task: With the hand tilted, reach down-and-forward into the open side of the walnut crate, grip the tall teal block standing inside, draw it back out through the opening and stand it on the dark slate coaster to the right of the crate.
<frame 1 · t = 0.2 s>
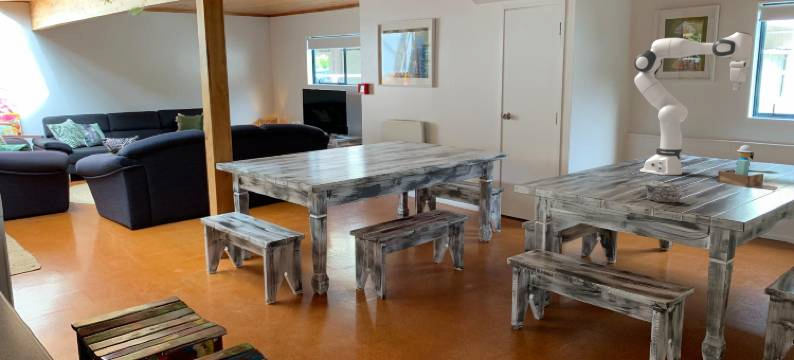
hand: (736, 90, 328), 48 cm above the table, tool pointing down, fingers open, 8 cm apart
rock: (662, 201, 284), on the table
coaster: (766, 189, 311), on the table
block: (741, 183, 322), point 1 cm above the table, touching crate
toy: (743, 170, 365), on the table
crate: (740, 184, 322), on the table
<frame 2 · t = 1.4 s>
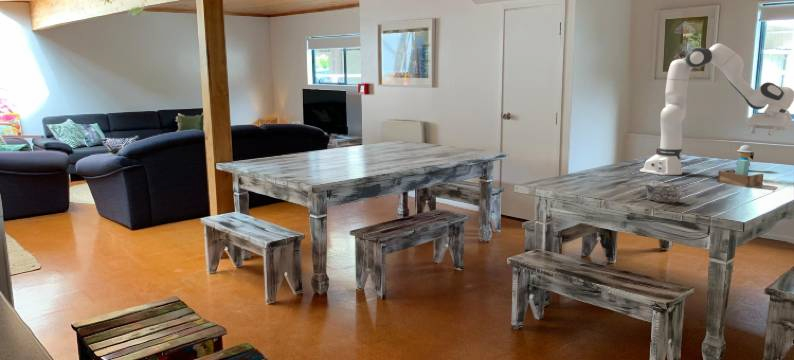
hand: (760, 133, 323), 26 cm above the table, tool tilted 45°, fingers open, 8 cm apart
nothing on the table moved.
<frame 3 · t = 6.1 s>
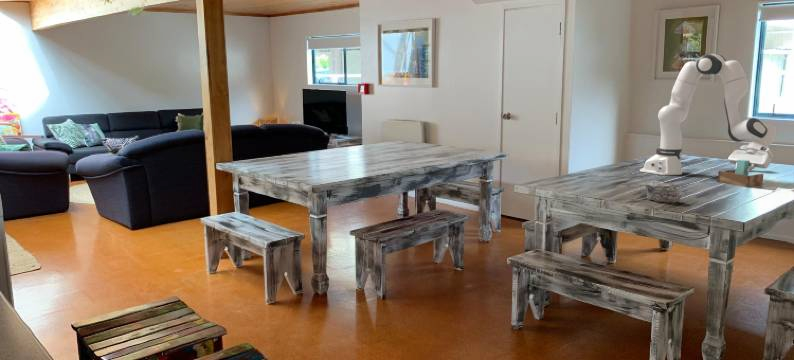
hand: (741, 170, 321), 7 cm above the table, tool tilted 45°, fingers closed on block, 4 cm apart
block: (741, 183, 322), point 1 cm above the table, touching crate, gripper
everything else where it was.
when the fingers open (9 cm above the table, at t = 14.6 s): block drops 1 cm, resting on coaster.
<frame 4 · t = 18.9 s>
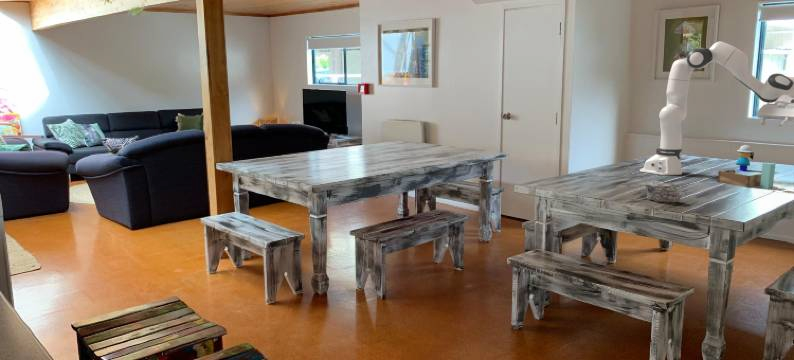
hand: (771, 124, 314), 31 cm above the table, tool tilted 45°, fingers open, 8 cm apart
block: (766, 187, 311), point 1 cm above the table, touching coaster
everything else where it was.
at the end: block inside the target area on the coaster (0.1 cm from its centre), point 1.0 cm above the coaster's base; block tilted 0°; the gripper is holding nothing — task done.
